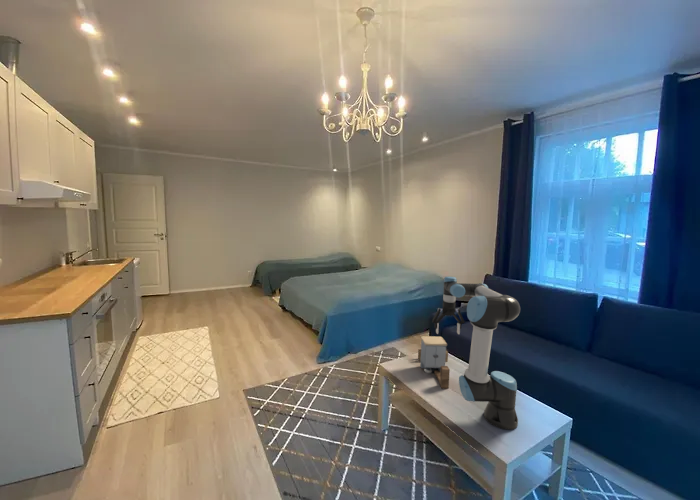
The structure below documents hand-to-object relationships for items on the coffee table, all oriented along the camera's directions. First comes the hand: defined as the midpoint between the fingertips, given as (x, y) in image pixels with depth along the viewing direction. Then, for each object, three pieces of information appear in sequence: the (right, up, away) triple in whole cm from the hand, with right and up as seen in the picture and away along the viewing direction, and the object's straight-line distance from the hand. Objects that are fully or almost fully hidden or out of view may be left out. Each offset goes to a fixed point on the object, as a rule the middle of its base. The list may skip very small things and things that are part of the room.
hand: (447, 333), depth 189 cm
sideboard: (-8, -26, +5) cm, 28 cm away
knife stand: (-4, -25, +20) cm, 32 cm away
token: (-11, -26, +4) cm, 29 cm away
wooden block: (-6, -27, -6) cm, 29 cm away
